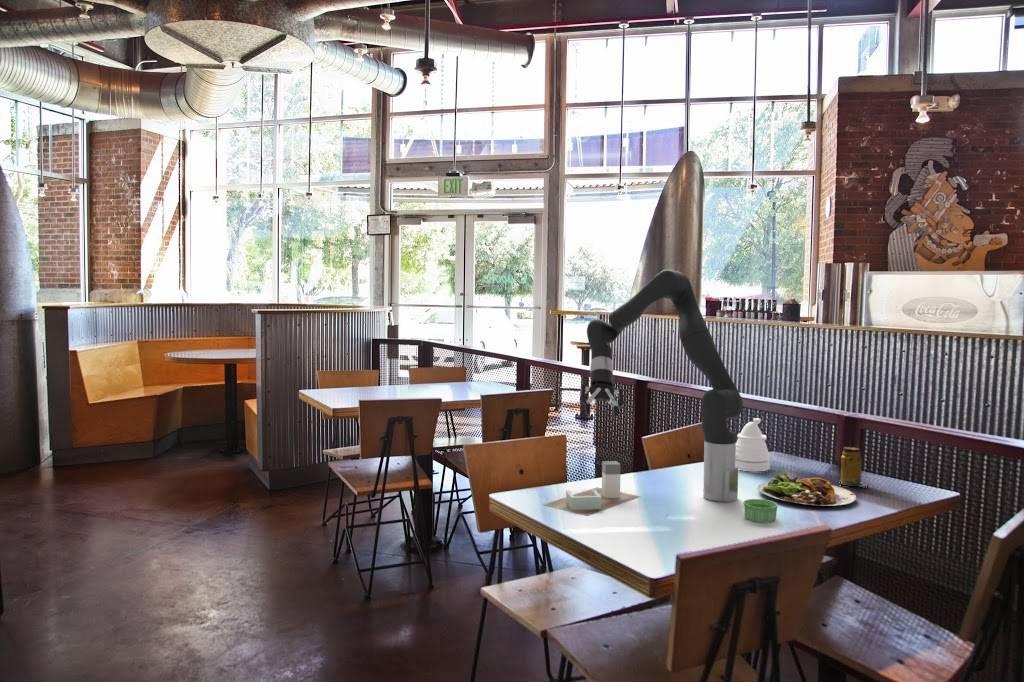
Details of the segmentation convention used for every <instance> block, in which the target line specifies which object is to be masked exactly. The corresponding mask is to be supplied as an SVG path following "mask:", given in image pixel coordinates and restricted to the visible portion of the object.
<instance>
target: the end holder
mask: <svg viewBox="0 0 1024 682" xmlns="http://www.w3.org/2000/svg"><path fill="white" fill-rule="evenodd" d="M573 495H574V494H573V493H572V491H571V490H570V489H568V490H567V489H566V491H565V497H566V503H567V504H568V506H569V507H570V509H571V510H591V509H601V496H600V495H599V494H598V492H597V491H596V490H592V496H577V497H574V496H573Z"/></svg>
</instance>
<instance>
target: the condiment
mask: <svg viewBox="0 0 1024 682" xmlns="http://www.w3.org/2000/svg"><path fill="white" fill-rule="evenodd" d="M861 455H862V454H861V448H859V447H852V446H844V447H843V448H842V455H841V460H840V461H841V463H840V464H841V465H840V481H841V484H844V485H849V486H850V485H851V486H858V485H860V483H862V459H863V458H862V456H861ZM849 486H848V487H849ZM863 488H864V489H868V488H867V487H866V488H865V487H863Z"/></svg>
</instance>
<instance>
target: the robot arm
mask: <svg viewBox="0 0 1024 682" xmlns="http://www.w3.org/2000/svg"><path fill="white" fill-rule="evenodd" d="M661 299H668V300H671V302H672V304H673V305H674V307H675V310H676V312H677V315H678V318H679V325H678V328H679V329H678V335H679V340H680V342H681V345H682V347H683V350H684V353H685V355H686V357H687V358H688V359H689V361H690V362H691V363H692V364H693V365H694V366H695V368H697V370H699V371H700V373H702V375H704V376H705V378H706V379H707V380H708V382H709V384H710V385H711V388H712V389H708V390H706V391H705V392H704V394H703V396H702V399H701V404H700V405H701V406H700V407H701V410H700V411H701V428H702V433H703V437H704V441H703V443H704V444H703V445H704V446H703V447H704V448H703V449H704V450H703V451H704V453H703V489H702V491H703V498H704V499H706V500H710V501H715V502H726V503H730V502H733V501H735V500H736V499H738V496H739V491H738V490H739V471H738V467H736V443H737V434H736V432H734V431H733V430H730V429H729V428H728V426H727V425H728V424H727V421H728V419H734V418H737V417H739V416H740V415H741V414H742V411H743V407H744V405H743V399H742V397H741V394H740V391H739V390H738V388H737V386H736V385H735V382H734V381H733V379H732V377H731V376H730V374H729V373H728V371H727V368H726V367H725V364H724V362H723V360H722V358H721V355H720V354H719V351H718V349H717V347H716V345H715V342H714V339H713V336H712V334H711V332H710V330H709V328H708V326H707V323H706V321H705V319H704V317H703V315H702V313H701V310H700V308H699V305H698V302H697V300H696V296H695V293H694V290H693V287H692V283H691V281H690V279H689V278H688V276H687V275H686V273H685V274H684V273H683V272H681V271H678V270H674V269H663V270H661V271H659V272H658V273H657V274H655V276H653V278H652V279H650V280H649V281H648V282H647V283H646V284H645V285H644V286H643V287H642V288H641V289H640V290H639V291H637V293H636V294H635V295H633V297H631V298H630V299H629V300H627V301H626V302H624V303H623V304H622V305H620V306H619V307H617V308H616V309H614V310H613V311H612V312H610V314H609V315H608V321H609V323H608V322H606V321H605V320H602V319H600V318H593V319H591V320H590V321H589V323H588V325H587V327H586V336H587V340H588V344H589V345H588V346H589V348H590V351H591V353H590V354H591V355H590V356H591V357H590V358H591V360H590V361H591V362H590V369H589V373H590V376H589V377H590V378H589V380H590V382H589V385H590V386H586V385H585V384H583V385H581V388H580V393H579V404H580V405H583V406H584V411H585V412H584V413H585V415H586V417H590V415H591V404H592V402H593V401H594V400H595V401H596V402H602V403H603V402H604V403H605V402H607V403H608V404H609V405H610V406H611V407H612V420H616V418H618V415H619V409H622V408H623V406H624V404H625V403H624V391H623V389H622V388H618V389H614V370H613V369H614V367H613V366H614V365H613V350H612V347H611V346H610V344H611V343H613V342H615V341H616V339H617V338H618V336H620V334H621V333H622V332H623V331H624V330H625V328H627V327H629V326H631V325H632V324H633V323H635V322H636V321H637V320H639V319H640V317H642V315H643V314H644V312H645V311H646V309H647V308H648V307H650V305H652V304H653V303H655V302H657V301H659V300H661ZM588 392H589V394H590V396H589V397H588V399H586V394H587V393H588ZM614 394H615V396H616V397H617V401H616V399H615V397H614Z"/></svg>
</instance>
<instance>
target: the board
mask: <svg viewBox="0 0 1024 682" xmlns="http://www.w3.org/2000/svg"><path fill="white" fill-rule="evenodd" d="M592 490H596V491H597V492H598V494H599V495H600V496H601V509H591V510H571V509H570V507H569V506H568V504H567V503H566V496H565V497H562V498H559V499H555V500H553V501H550V502H547V503H544V504H542V506H545V507H548V508H552V509H555V510H556V509H557V510H562V511H564V512H565V511H566V512H569V513H574V514H578V515H583V516H586V517H589V516H591V515H594V514H597V513H601V512H603V511H606V510H607V509H611V508H614V507H616V506H617V507H618V506H620V505H622V504H624V503H627V502H630V501H632V500H636V499H637V498H638V499H639V498H641V497H642V496H640V495H635V494H631V493H627V492H626V493H625V492H622V491H620V498H605V497H604V496H603V495H602V487H597V486H596V487H594V488H591V489H587V490H585V491H584V490H583V491H581V492H578V493H574V494H573V496H574V497H577V496H592Z"/></svg>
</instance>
